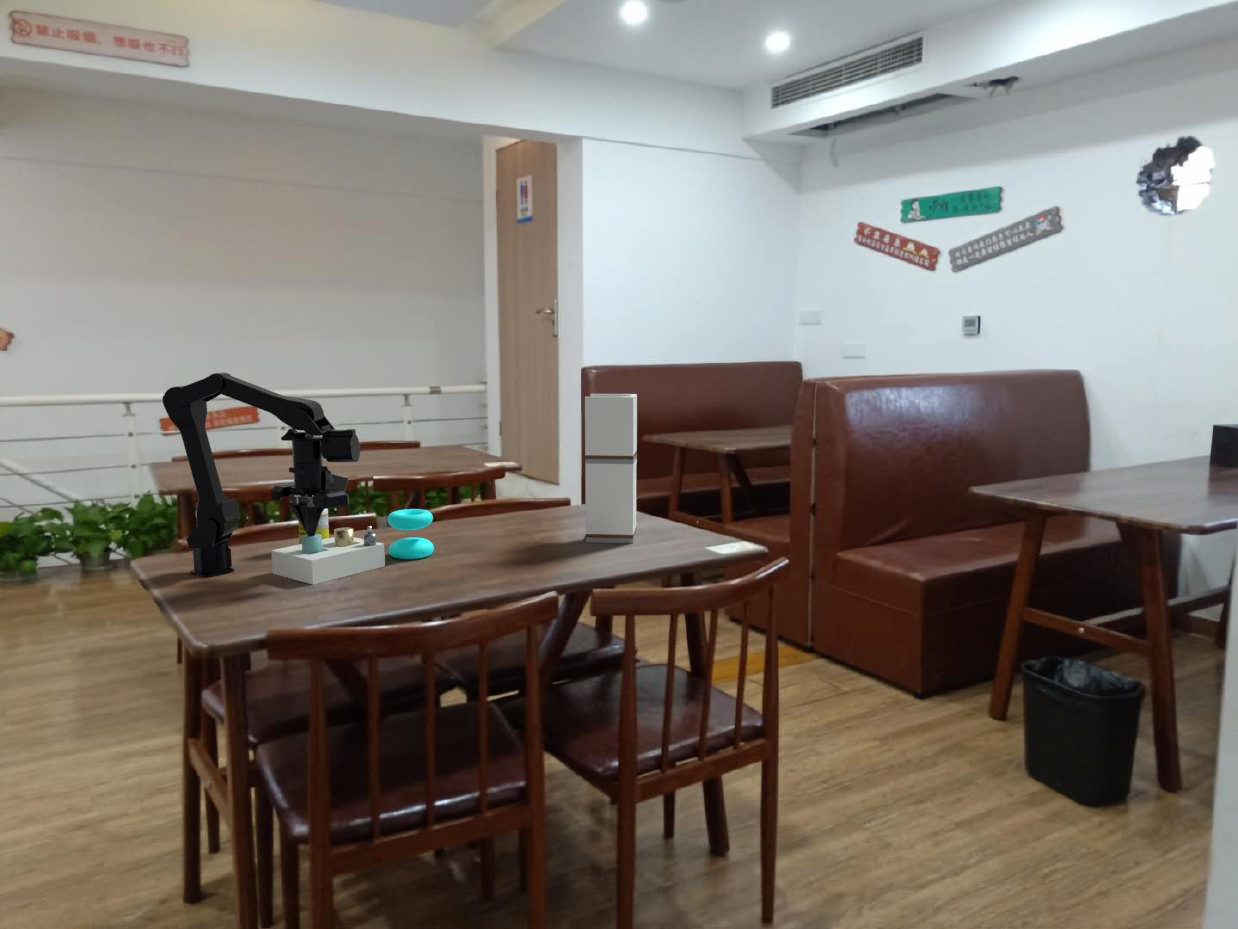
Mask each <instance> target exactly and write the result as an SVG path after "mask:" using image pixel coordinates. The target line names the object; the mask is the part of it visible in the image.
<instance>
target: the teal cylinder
mask: <svg viewBox="0 0 1238 929" xmlns="http://www.w3.org/2000/svg"><path fill="white" fill-rule="evenodd" d="M301 538H302V553H304V554H308V555H310V554H314V553H319V552H322V535H320V534H315V536H311V537H310V536H308V535H303V536H302V537H301Z"/></svg>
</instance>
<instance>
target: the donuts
mask: <svg viewBox="0 0 1238 929" xmlns="http://www.w3.org/2000/svg"><path fill="white" fill-rule="evenodd" d="M433 520H434V517H433V514H432V512H430V511H429V510H427V509H420V508H409V509H408V508H407V509H406V508H405V509H399V510H395V511H393V512H390V513H389V515H387V523H388V524H389V526H391V528H394V529H396V530H400V531H414V530H415V531H416V530H422V529H424V528H427V527H429V526H430V525H431V524H432V523H433ZM434 550H435V547H434V544H433V543H432V541H430V540H429V539H427V538H424V537H417V536H415V537H412V536H411V537H410V536H409V537H403V538H399V539H397V540H395V541H392V543H390V545H389V547H388V553H389V555H390V556H391V557H392V558H394V559H397V558H398V560H419V559H423V558H426V557H429V556H431V555H432V553H433V552H434ZM418 558H419V559H418Z"/></svg>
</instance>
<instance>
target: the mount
mask: <svg viewBox="0 0 1238 929" xmlns="http://www.w3.org/2000/svg"><path fill="white" fill-rule="evenodd" d="M385 558H386V557H385V543H384V542H377V541H376V545H375V546H364V538H358V537H355V536H354V545H350V546H345V547H338V546H335V541H334V536H333V537H329V538H327V539H323V540H322V552H319V553H314V554H310V555H308V554H304V553H302V544H295V545H291V546H286V547H282V548H276V549H271V563H272V564H271V568H272V574H273V575H276V574H277V575H276V576H279V575H280V577H284V578H287V577H288V578H287V579H290V578H291V579H290V580H294V581H299V582H302V583H306V584H309V585H313V586H314V585H317V584H321V583H325V582H328V581H333V580H337V579H340V578H345V577H348V576H352V575H356V574H360V573H364V572H368V571H372V570H376V569H379V568H383V567H385V566H386V561H385V560H386V559H385Z"/></svg>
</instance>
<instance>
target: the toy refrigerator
mask: <svg viewBox="0 0 1238 929" xmlns="http://www.w3.org/2000/svg"><path fill="white" fill-rule="evenodd" d="M637 405H638V394H637V393H590V394H589V396H584V426H585V427H584V438H585V439H584V443H585V444H584V446H585V449H584V453H585V454H584V456H585V458H584V459H585V462H584V463H585V465H584V466H585V472H584V473H585V474H584V476H585V478H584V479H585V486H584V487H585V543H597V544H598V543H601V544H602V543H603V544H634V542H635V538H636V536H637V530H638V528H637V463H638V460H637V458H638V454H637V453H638V451H637V450H638V448H637V446H638V444H637V443H638V433H637V432H638V406H637Z"/></svg>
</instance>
